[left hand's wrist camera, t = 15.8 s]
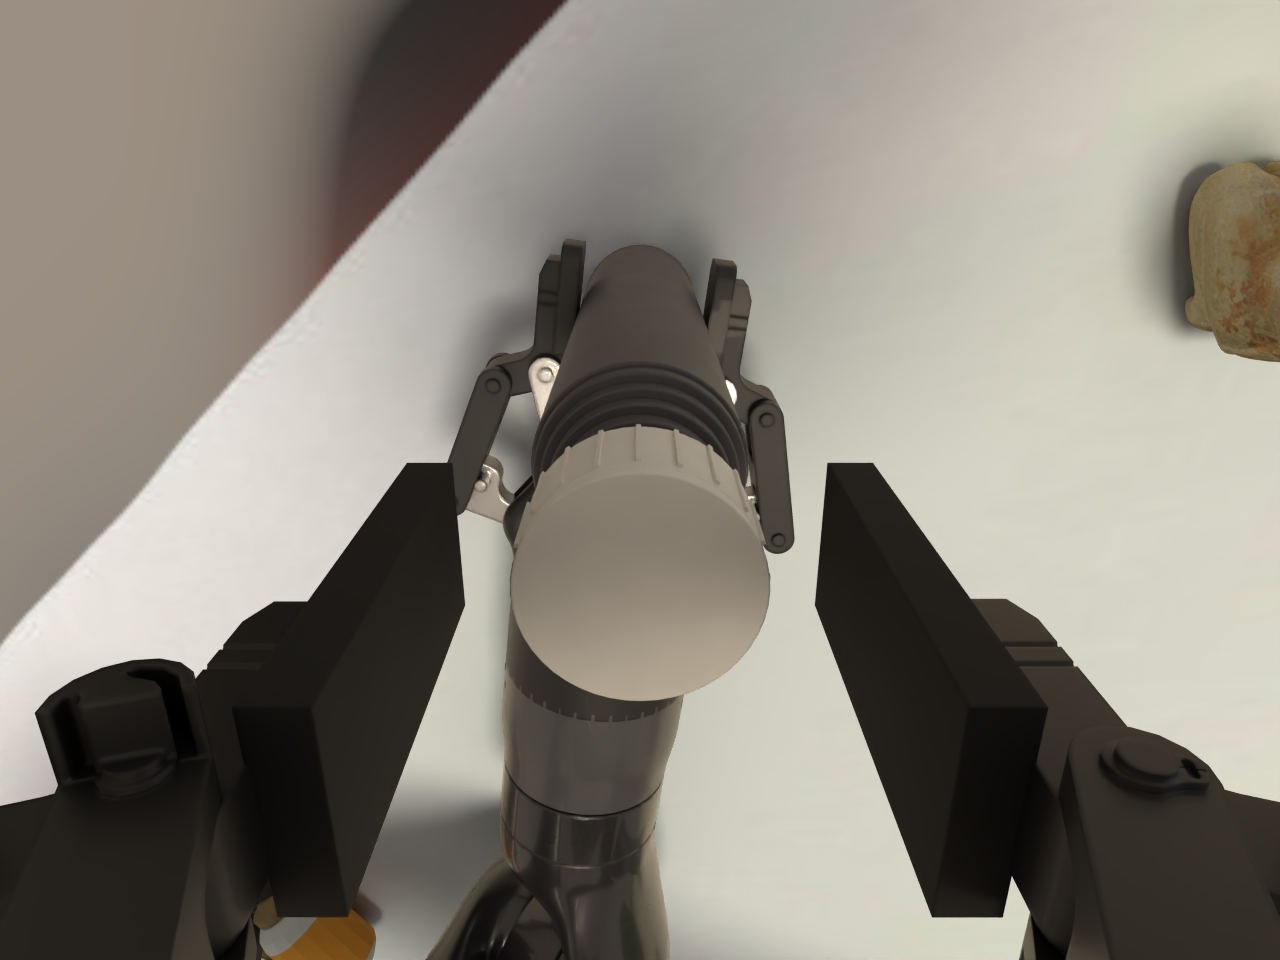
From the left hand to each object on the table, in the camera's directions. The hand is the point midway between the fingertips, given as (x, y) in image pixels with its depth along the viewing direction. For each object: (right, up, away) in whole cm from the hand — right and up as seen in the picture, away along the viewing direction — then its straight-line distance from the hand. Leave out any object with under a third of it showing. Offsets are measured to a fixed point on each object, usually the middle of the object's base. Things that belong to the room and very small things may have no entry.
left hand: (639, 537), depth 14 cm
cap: (0, -1, -2) cm, 2 cm away
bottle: (0, +9, +21) cm, 23 cm away
